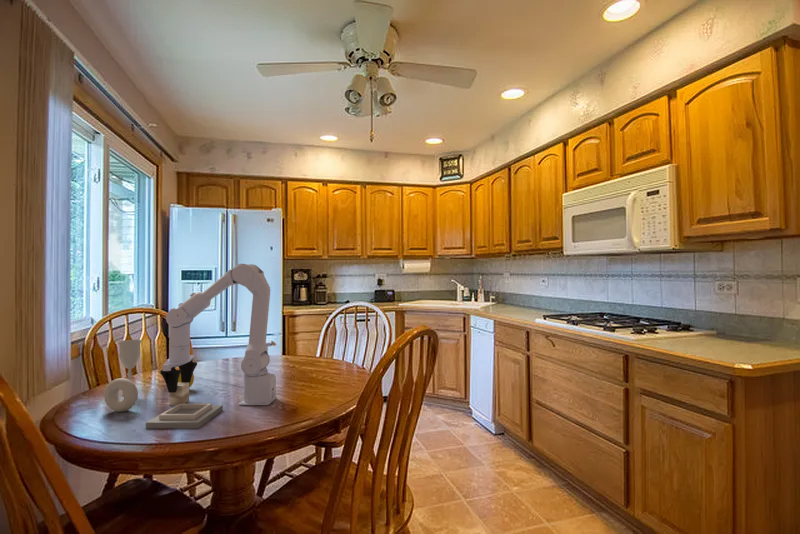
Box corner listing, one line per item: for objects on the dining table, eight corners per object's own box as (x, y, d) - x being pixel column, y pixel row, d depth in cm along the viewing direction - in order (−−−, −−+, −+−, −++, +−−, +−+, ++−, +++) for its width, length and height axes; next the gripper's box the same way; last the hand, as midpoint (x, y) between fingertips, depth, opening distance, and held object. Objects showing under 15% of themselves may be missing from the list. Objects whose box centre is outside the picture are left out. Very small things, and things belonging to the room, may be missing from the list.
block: (189, 401, 129) (189, 382, 129) (182, 405, 125) (182, 385, 125) (176, 401, 129) (176, 382, 129) (169, 405, 125) (169, 385, 125)
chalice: (112, 395, 135) (112, 342, 136) (132, 390, 142) (132, 339, 142) (126, 397, 133) (127, 343, 133) (146, 392, 139) (146, 340, 139)
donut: (100, 413, 118) (101, 379, 118) (110, 409, 121) (110, 376, 122) (131, 414, 117) (132, 379, 117) (140, 410, 120) (141, 376, 120)
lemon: (186, 393, 138) (186, 369, 138) (172, 392, 139) (172, 369, 139) (197, 388, 143) (197, 366, 143) (184, 387, 144) (184, 365, 144)
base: (222, 410, 120) (222, 401, 120) (198, 428, 106) (198, 417, 106) (176, 410, 120) (176, 401, 120) (145, 428, 106) (145, 417, 106)
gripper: (180, 341, 135) (179, 382, 134) (152, 349, 120) (152, 395, 120) (200, 341, 134) (200, 382, 134) (176, 349, 120) (175, 395, 120)
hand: (179, 388), depth 127 cm, fingers open, 7 cm apart
